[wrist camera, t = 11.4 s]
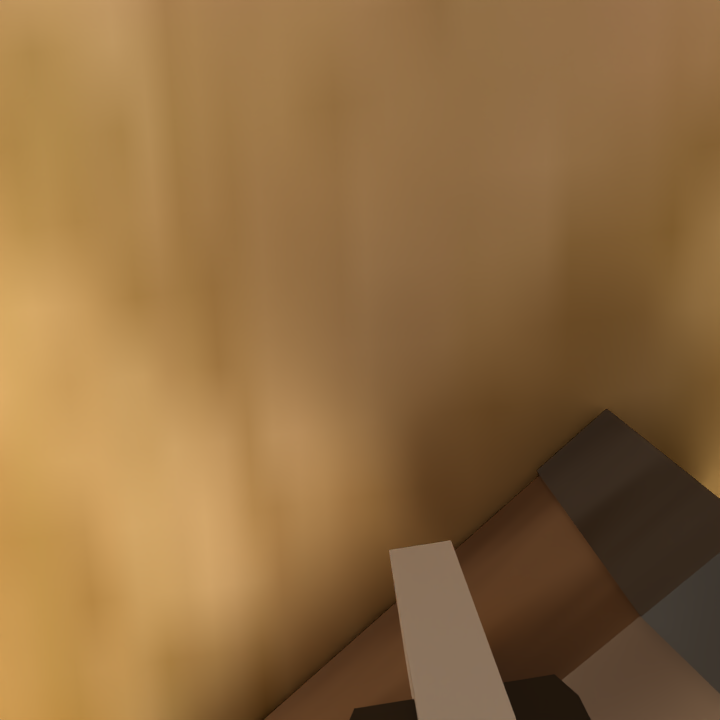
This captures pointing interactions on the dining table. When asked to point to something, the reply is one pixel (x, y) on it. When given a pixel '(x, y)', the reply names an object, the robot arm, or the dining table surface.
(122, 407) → the dining table surface
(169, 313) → the dining table surface
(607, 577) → the bar
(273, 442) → the dining table surface
